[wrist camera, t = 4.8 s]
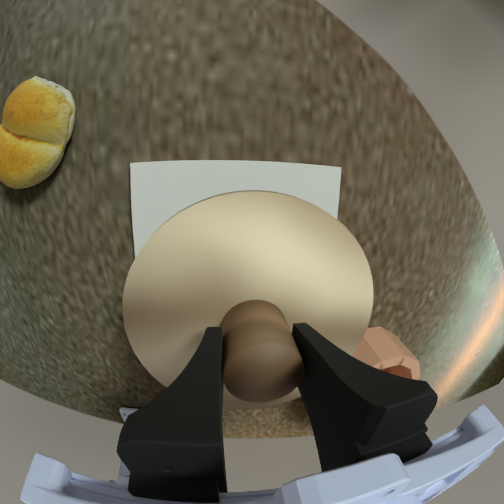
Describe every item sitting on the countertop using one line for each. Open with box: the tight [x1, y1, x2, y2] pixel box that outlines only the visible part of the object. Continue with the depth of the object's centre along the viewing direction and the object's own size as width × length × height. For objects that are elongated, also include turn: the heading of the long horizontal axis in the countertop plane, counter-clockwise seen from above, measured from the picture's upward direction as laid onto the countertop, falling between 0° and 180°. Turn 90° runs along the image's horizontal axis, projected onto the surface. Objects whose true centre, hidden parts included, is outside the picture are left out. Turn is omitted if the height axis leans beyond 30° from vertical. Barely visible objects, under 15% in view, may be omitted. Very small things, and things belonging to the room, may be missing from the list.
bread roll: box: [0, 76, 76, 189], centre depth 14 cm, size 8×9×4 cm
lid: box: [122, 190, 373, 410], centre depth 12 cm, size 13×13×4 cm
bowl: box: [352, 326, 420, 380], centre depth 24 cm, size 10×10×5 cm
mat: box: [130, 160, 341, 258], centre depth 21 cm, size 15×15×1 cm
